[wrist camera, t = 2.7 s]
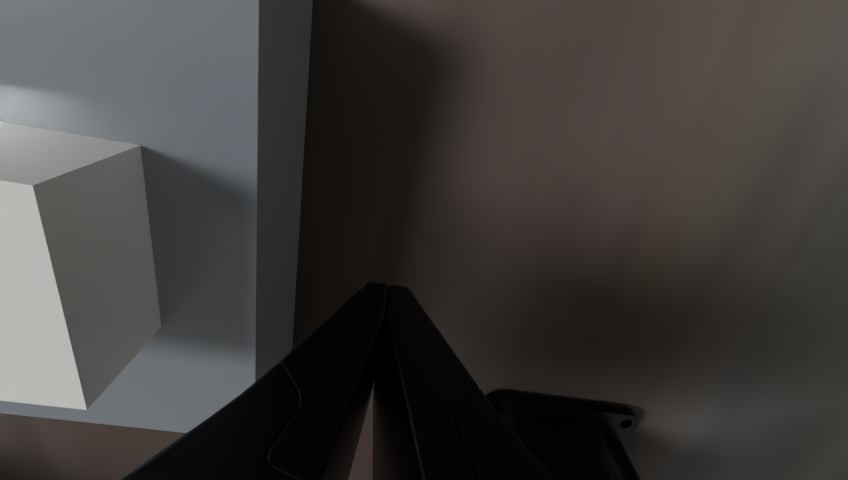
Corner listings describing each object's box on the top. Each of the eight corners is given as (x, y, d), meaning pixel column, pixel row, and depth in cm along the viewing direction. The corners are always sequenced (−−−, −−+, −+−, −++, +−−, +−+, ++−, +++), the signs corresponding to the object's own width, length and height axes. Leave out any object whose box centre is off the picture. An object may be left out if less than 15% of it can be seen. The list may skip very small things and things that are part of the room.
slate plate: (314, -22, 10) (259, -57, 7) (292, 346, 15) (255, 440, 12) (-231, -141, 9) (-658, -263, 5) (-57, 301, 14) (-218, 389, 11)
